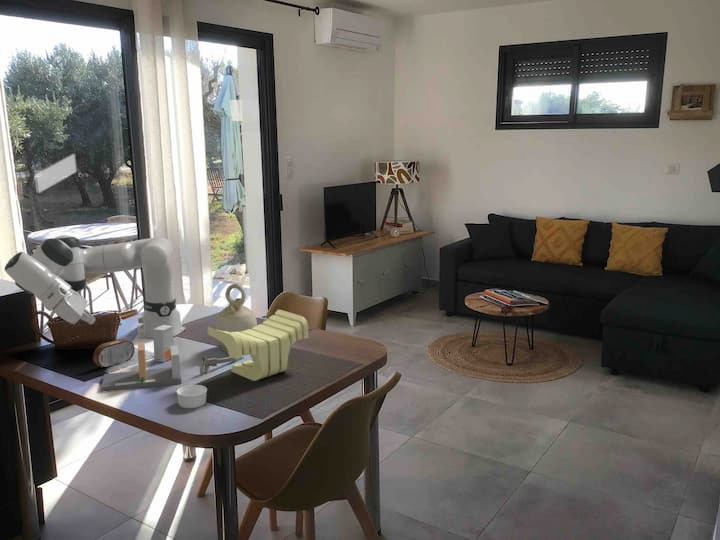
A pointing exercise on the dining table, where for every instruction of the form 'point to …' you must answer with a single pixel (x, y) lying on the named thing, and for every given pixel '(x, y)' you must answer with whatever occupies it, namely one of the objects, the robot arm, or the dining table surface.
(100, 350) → the tin
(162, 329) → the skincare box
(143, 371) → the paddle
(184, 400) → the ramekin
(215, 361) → the caliper
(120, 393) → the dining table surface
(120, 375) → the gauge board
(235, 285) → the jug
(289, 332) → the slatted curved stool
